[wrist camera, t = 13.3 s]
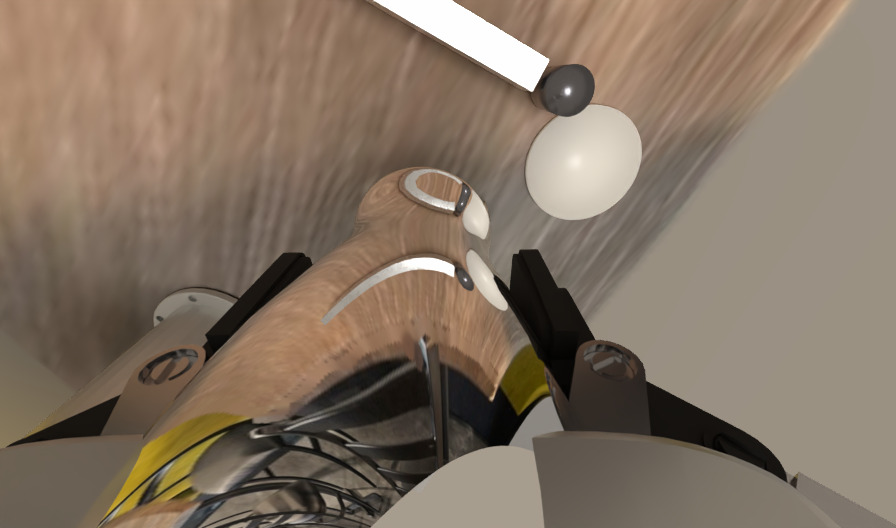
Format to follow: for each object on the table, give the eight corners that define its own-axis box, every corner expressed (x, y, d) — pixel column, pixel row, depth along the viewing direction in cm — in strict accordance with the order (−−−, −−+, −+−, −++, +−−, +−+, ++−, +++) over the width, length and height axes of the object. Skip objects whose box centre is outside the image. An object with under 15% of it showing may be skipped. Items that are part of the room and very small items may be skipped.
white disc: (622, 217, 32) (625, 219, 32) (520, 218, 32) (521, 220, 32) (652, 103, 27) (656, 103, 27) (531, 105, 27) (532, 105, 27)
